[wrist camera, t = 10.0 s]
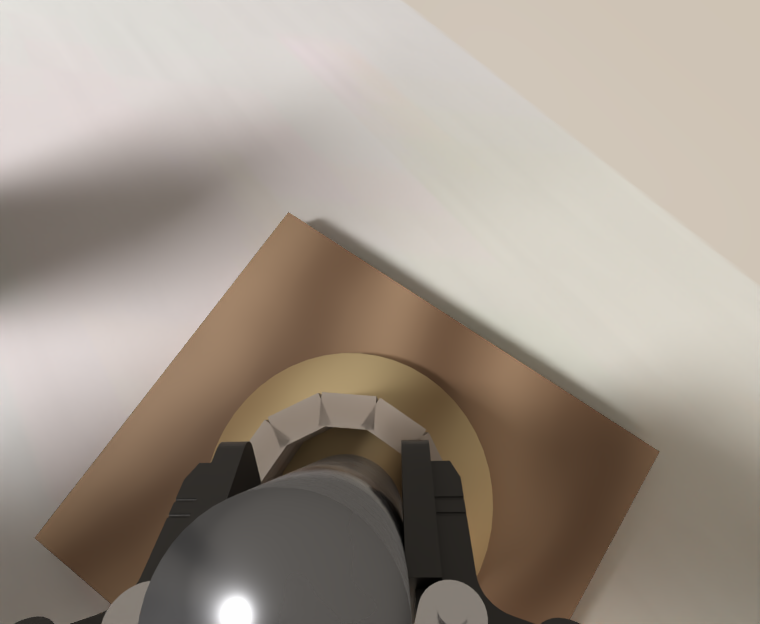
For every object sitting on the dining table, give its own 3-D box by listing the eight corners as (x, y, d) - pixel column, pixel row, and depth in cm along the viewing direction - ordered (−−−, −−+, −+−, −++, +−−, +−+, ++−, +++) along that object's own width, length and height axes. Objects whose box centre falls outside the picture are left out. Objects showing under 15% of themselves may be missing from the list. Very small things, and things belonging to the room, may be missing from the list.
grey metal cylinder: (283, 580, 16) (120, 802, 6) (287, 454, 17) (150, 488, 7) (404, 580, 15) (417, 807, 6) (401, 453, 16) (408, 485, 7)
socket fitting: (58, 530, 22) (-52, 565, 16) (294, 224, 25) (267, 169, 19) (427, 843, 19) (442, 1013, 13) (641, 449, 22) (723, 458, 16)
